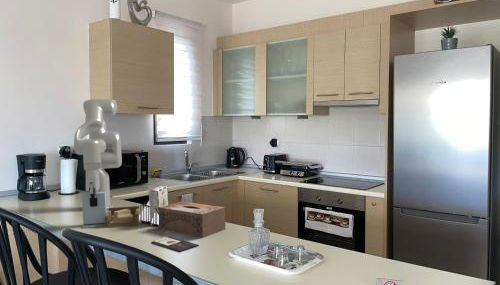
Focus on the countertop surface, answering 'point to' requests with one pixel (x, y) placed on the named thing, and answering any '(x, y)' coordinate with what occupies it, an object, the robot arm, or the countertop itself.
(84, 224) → the mat
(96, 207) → the panel
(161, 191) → the candy bar box
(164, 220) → the tissue box cover
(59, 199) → the countertop surface
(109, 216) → the rack
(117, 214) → the offcut upper
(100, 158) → the robot arm
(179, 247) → the chocolate bar
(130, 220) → the offcut lower
